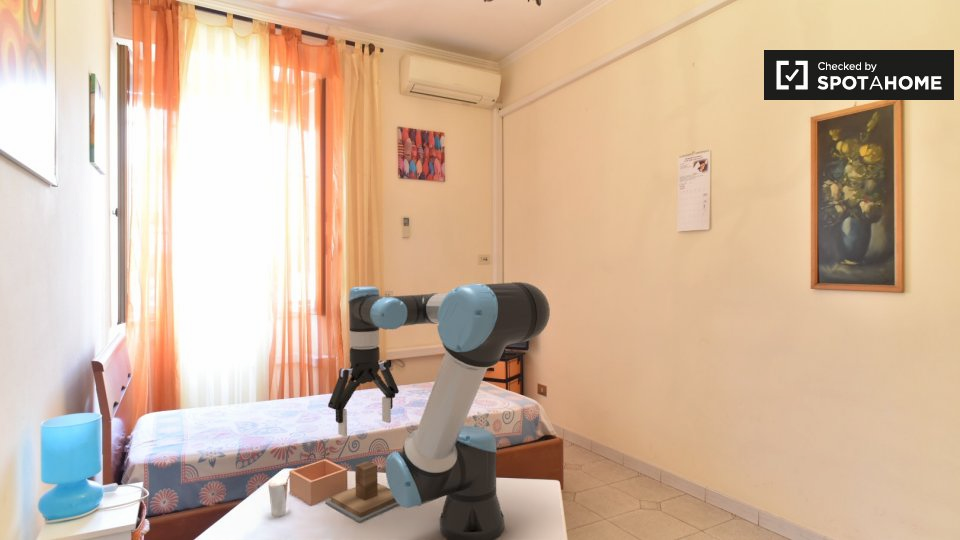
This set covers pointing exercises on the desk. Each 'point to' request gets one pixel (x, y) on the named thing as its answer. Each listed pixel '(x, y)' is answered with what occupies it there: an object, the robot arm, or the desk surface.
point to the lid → (365, 492)
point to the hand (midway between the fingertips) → (365, 428)
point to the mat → (357, 516)
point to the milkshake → (278, 495)
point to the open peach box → (318, 481)
